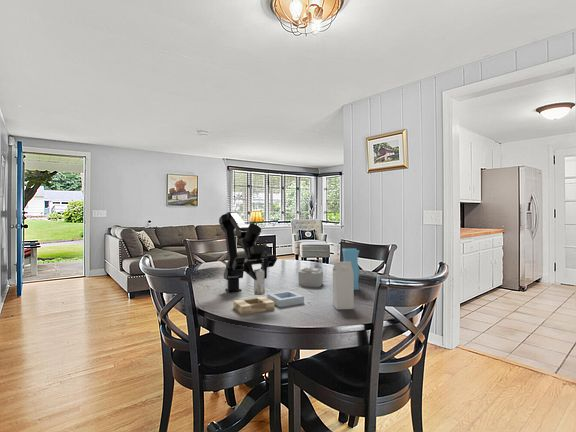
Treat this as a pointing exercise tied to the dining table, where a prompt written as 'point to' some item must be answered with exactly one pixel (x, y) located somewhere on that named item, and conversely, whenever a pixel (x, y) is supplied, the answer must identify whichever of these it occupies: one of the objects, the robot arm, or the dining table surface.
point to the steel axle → (259, 282)
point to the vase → (352, 263)
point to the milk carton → (343, 285)
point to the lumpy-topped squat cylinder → (310, 277)
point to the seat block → (286, 298)
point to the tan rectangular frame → (253, 305)
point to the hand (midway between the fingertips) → (260, 278)
